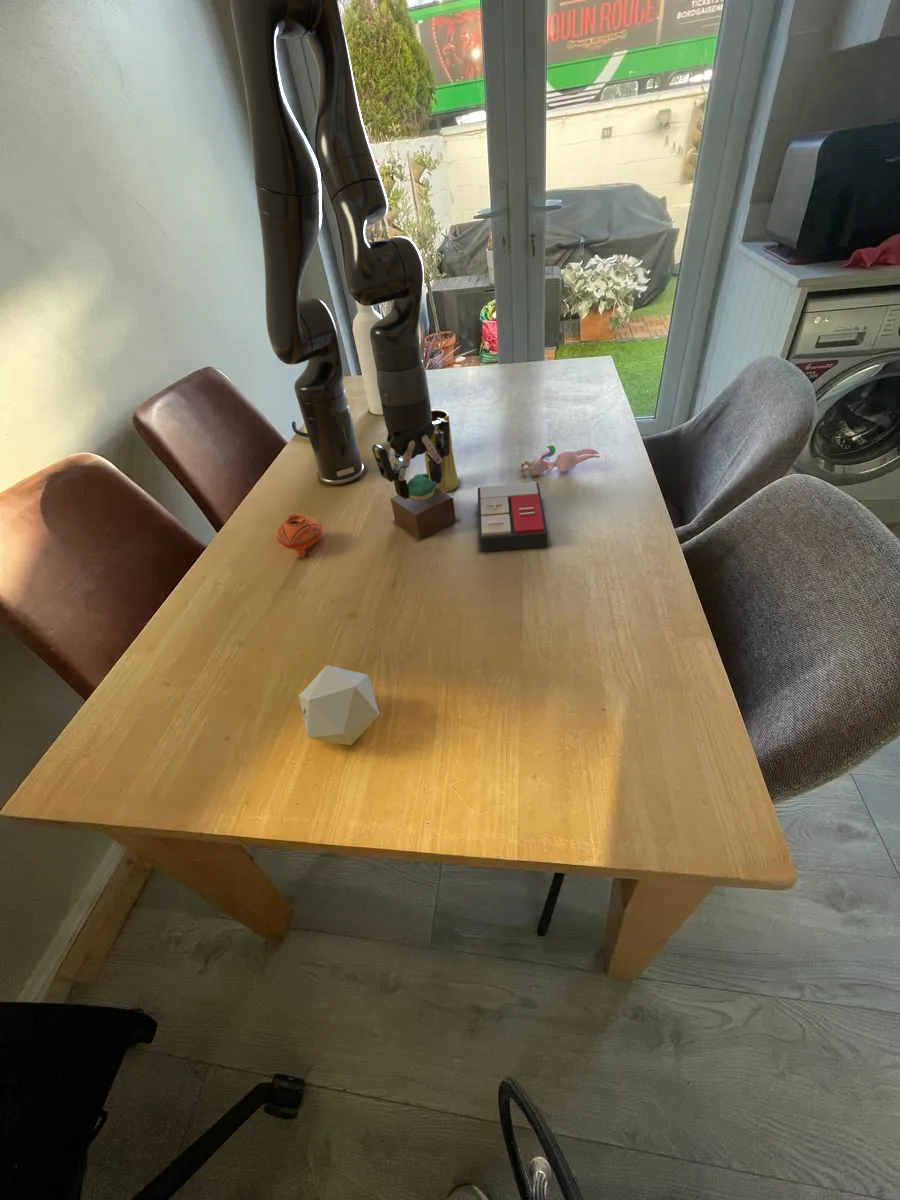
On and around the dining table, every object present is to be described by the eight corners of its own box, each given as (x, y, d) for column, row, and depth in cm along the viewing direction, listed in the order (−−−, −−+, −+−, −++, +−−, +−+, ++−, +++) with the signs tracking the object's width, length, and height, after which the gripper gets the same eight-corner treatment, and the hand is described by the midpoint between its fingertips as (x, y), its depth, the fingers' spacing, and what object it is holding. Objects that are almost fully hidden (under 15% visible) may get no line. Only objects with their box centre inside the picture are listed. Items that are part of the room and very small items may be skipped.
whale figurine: (403, 505, 93) (399, 485, 91) (406, 483, 99) (403, 464, 96) (437, 502, 93) (434, 482, 90) (438, 480, 98) (436, 461, 96)
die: (331, 694, 72) (273, 683, 64) (384, 663, 69) (330, 648, 61) (346, 756, 68) (286, 753, 60) (402, 726, 66) (348, 719, 57)
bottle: (398, 413, 138) (374, 278, 119) (367, 416, 139) (339, 282, 119) (401, 400, 144) (378, 270, 125) (371, 404, 145) (344, 274, 125)
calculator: (478, 534, 88) (477, 483, 99) (480, 555, 91) (478, 503, 102) (547, 529, 87) (538, 478, 98) (547, 550, 90) (538, 498, 101)
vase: (455, 493, 106) (447, 422, 97) (424, 493, 107) (413, 423, 98) (461, 477, 110) (453, 408, 101) (431, 477, 112) (421, 409, 102)
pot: (271, 559, 95) (262, 522, 92) (297, 543, 102) (290, 507, 99) (310, 563, 93) (302, 525, 90) (334, 546, 99) (328, 510, 96)
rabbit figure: (524, 487, 107) (603, 470, 104) (518, 460, 103) (600, 441, 100) (522, 472, 112) (597, 455, 109) (517, 445, 108) (594, 427, 105)
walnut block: (395, 522, 101) (390, 498, 97) (430, 504, 104) (426, 481, 101) (419, 539, 96) (415, 515, 92) (456, 521, 99) (453, 496, 95)
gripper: (428, 374, 90) (440, 467, 101) (352, 402, 84) (374, 498, 95) (456, 384, 85) (465, 481, 96) (377, 415, 79) (397, 514, 90)
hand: (420, 489), depth 95 cm, fingers closed on whale figurine, 6 cm apart
